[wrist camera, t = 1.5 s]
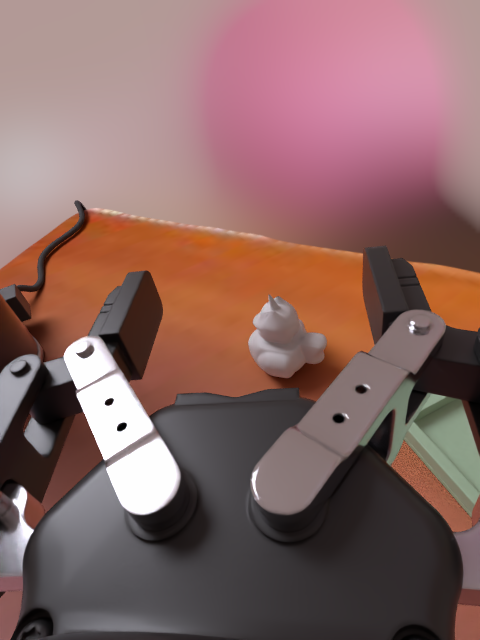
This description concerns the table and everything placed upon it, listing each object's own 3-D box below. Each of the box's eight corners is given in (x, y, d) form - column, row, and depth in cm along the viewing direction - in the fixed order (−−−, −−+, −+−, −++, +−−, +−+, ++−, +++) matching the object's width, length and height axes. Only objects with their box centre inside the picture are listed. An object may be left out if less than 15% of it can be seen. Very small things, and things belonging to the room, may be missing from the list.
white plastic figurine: (261, 335, 39) (249, 268, 33) (332, 345, 36) (332, 275, 31) (243, 381, 35) (227, 315, 30) (320, 395, 33) (318, 327, 27)
